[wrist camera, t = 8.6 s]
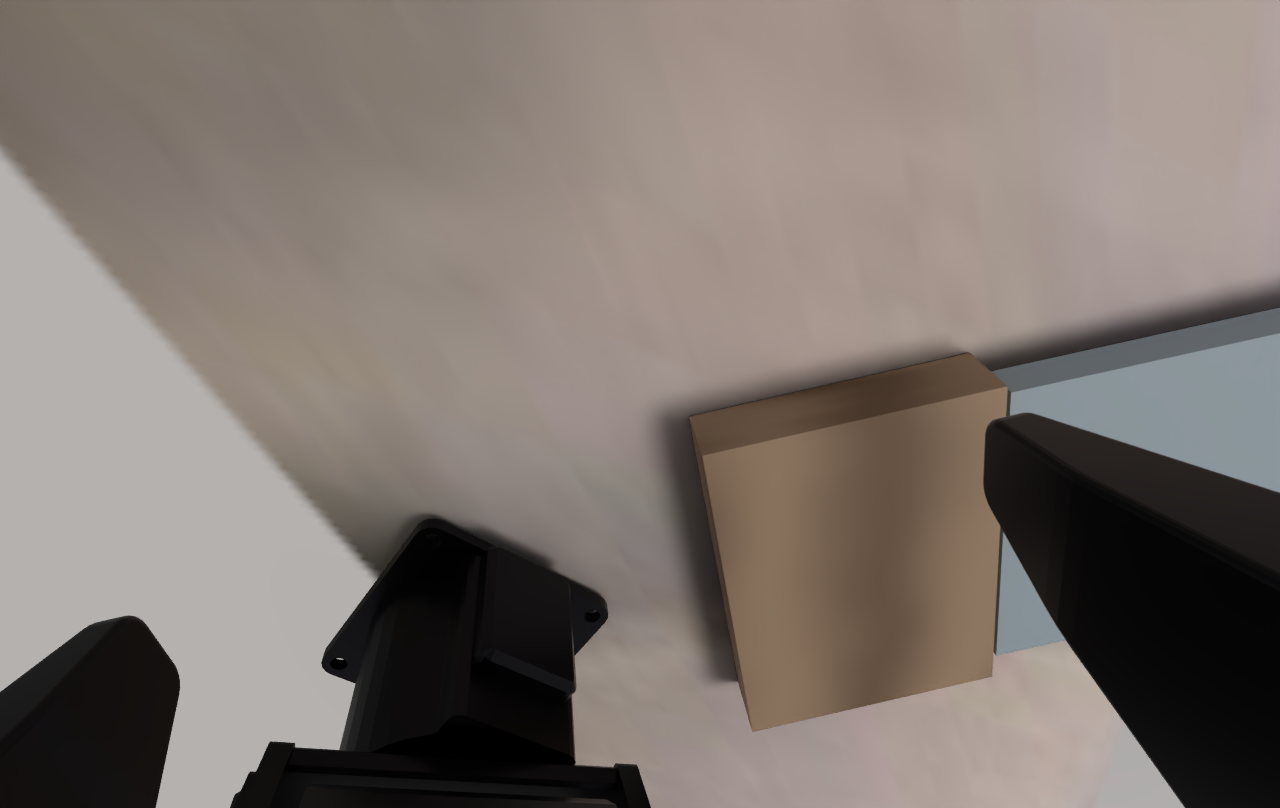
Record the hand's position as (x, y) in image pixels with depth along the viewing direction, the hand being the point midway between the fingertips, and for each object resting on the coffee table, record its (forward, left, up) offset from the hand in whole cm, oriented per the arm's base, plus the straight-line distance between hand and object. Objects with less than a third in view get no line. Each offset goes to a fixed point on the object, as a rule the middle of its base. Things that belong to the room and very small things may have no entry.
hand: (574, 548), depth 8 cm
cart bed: (-3, -13, -12) cm, 18 cm away
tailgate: (0, -16, -11) cm, 19 cm away
